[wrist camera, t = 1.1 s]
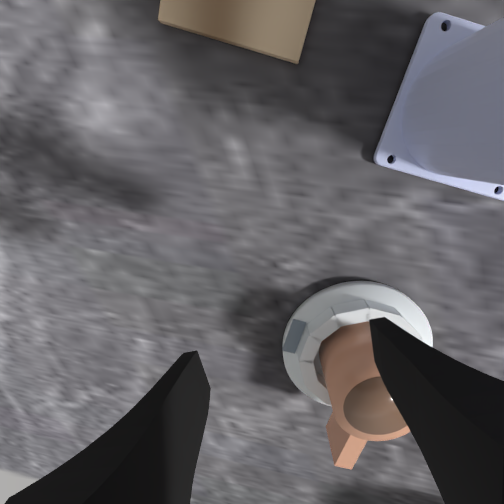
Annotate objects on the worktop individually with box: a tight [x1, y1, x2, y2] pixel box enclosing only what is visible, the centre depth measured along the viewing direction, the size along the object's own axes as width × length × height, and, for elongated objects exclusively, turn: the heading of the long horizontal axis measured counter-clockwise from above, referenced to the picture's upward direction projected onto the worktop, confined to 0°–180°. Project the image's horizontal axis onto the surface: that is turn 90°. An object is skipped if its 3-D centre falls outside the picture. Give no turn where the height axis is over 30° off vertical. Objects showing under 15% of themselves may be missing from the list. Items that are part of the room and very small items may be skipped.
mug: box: [319, 321, 410, 470], centre depth 21 cm, size 9×6×5 cm, turn 165°
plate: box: [282, 281, 433, 406], centre depth 22 cm, size 11×11×2 cm
